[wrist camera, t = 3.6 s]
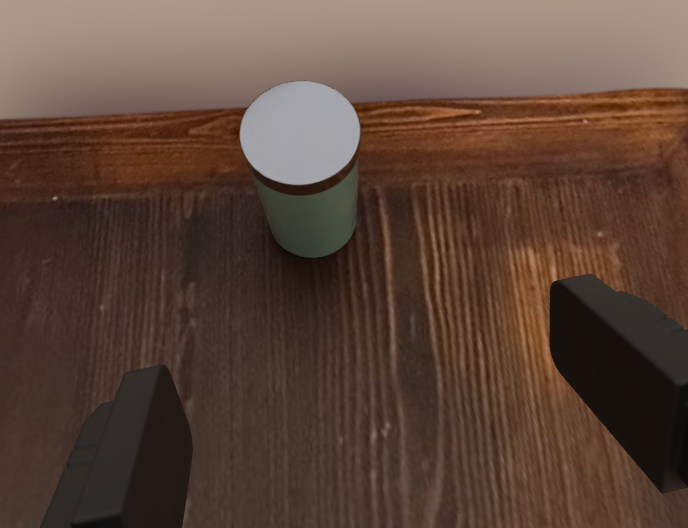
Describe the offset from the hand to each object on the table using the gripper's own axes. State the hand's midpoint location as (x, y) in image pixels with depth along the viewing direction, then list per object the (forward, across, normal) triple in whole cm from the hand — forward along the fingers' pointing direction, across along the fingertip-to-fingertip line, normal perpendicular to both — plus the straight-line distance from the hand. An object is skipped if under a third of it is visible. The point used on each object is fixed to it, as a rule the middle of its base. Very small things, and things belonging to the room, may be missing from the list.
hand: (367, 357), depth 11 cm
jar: (+21, 0, +4) cm, 22 cm away
